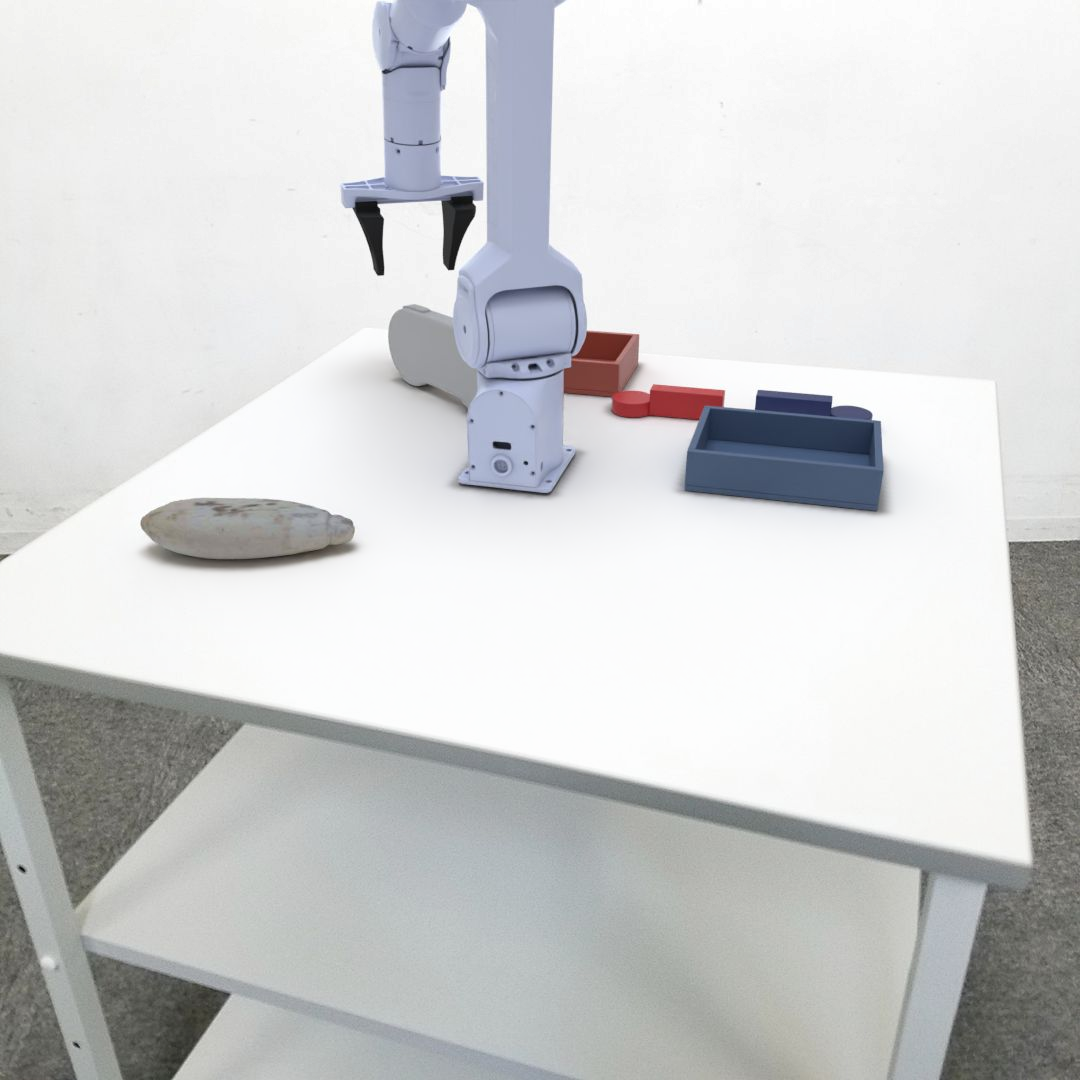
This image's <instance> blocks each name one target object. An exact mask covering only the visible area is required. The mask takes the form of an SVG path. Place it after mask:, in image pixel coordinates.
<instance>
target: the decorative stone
mask: <svg viewBox="0 0 1080 1080" xmlns="http://www.w3.org/2000/svg"><path fill="white" fill-rule="evenodd" d="M140 527H141V530H142V531H143V532H144V533H145V535H146V536H147V537H148V538H149V539H150V540H151V541H152V542H154V543H155V544H157V545H158V546H160V547H161V548H164V549H165V550H168V551H171V552H173V553H176V554H179V555H184V556H189V557H193V558H200V559H211V560H250V559H263V558H271V557H272V558H273V557H282V556H283V557H284V556H290V555H295V554H302V553H308V552H312V551H317V550H318V551H319V550H322V549H325V548H326V547H328V546H329V545H330V546H337V545H342V544H345V543H349V542H351V541H352V540H353V538H354V535H355V532H356V528H355V527H356V526H354V522H353V520H352V519H351V518H348V517H345V516H343V515H341V514H331V513H330V511H328V510H327V509H322V508H320V507H317V506H314V505H310V504H306V503H301V502H296V501H290V500H284V499H274V498H256V497H255V498H254V497H253V498H249V497H248V498H247V497H241V498H240V497H194V498H187V499H179V500H173V501H170V502H168V503H166V504H163V505H162V506H159V507H156V508H155V509H153V510H151V511H149V512H147V514H145V515H144V516H142V518H141V520H140Z"/></svg>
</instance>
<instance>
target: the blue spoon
mask: <svg viewBox="0 0 1080 1080" xmlns="http://www.w3.org/2000/svg"><path fill="white" fill-rule="evenodd" d="M833 397H834V396H833V395H827V394H815V393H803V392H790V391H778V390H768V389H767V390H765V389H757V392H756V395H755V402H754V403H755V405H754V410H762V411H774V412H785V413H796V414H808V415H819V416H831V417H842V418H853V419H865V420H873V416H874V415H873V412H872V411H871V410H869V409H867V408H863V407H861V406H855V405H836V406H833Z"/></svg>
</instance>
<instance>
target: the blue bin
mask: <svg viewBox="0 0 1080 1080" xmlns="http://www.w3.org/2000/svg"><path fill="white" fill-rule="evenodd" d="M882 434H883V433H882V421H881V420H875V419H872V420H865V419H853V418H842V417H831V416H819V415H808V414H796V413H785V412H774V411H762V410H755V409H751V408H737V407H727V406H724V407H717V406H704V409H703V411H702V414H701V417H700V419H699V420H698V422H697V425H696V427H695V430H694V432H693V435H692V438H691V440H690V442H689V445H688V448H687V451H686V460H685V475H684V491H687V492H696V493H707V494H715V495H726V496H733V497H734V496H735V497H742V498H743V497H744V498H752V499H760V500H761V499H762V500H770V501H771V500H772V501H781V502H791V503H798V504H807V505H817V506H825V507H837V508H846V509H854V510H864V511H865V510H866V511H871V512H872V511H873V512H877V511H878V508H879V501H880V494H881V489H882V488H881V487H882V483H883V478H884V477H883V476H884V471H885V470H884V456H883V455H884V454H883V435H882Z"/></svg>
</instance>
